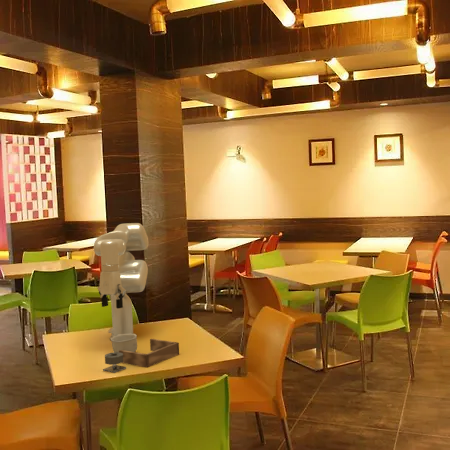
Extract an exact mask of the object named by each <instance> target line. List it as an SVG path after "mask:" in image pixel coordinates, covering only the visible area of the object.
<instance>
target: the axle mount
mask: <svg viewBox="0 0 450 450" xmlns="http://www.w3.org/2000/svg"><path fill="white" fill-rule="evenodd" d="M126 369H127V366H123V365H119V364H113V365H109V366H108V367H105V368H102V370H103V372H109V373H112V374H115V373H117V372H118V373H119V372H121V371H123V370H126Z"/></svg>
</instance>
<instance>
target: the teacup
mask: <svg viewBox="0 0 450 450" xmlns="http://www.w3.org/2000/svg"><path fill="white" fill-rule="evenodd" d="M135 334H136V333H134V334H122V335H121V334H118V335H117V336H115V337H113V338H112V339H111V340H110V341H111V346H112V351H113V352H112V353H114V352H119V350H125V351H131V352H137V349H138V339H137V336H136V335H137V334H136V335H135Z"/></svg>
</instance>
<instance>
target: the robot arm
mask: <svg viewBox="0 0 450 450" xmlns="http://www.w3.org/2000/svg"><path fill="white" fill-rule="evenodd" d="M149 245H150V244H149V236H148V234H147V231H146V229H145V227H144V226H143V224H141V223H139V222H131V223H130V222H129V223H120V224H118V225H117V226H116V227H115V228H114V230H113V231H110V232H108V233H103V234H102V235H100V236H98V237H97V238H96V239H95V241H94V243H93V252H94V254H95V256H98V257H100V262H101V263H100V266H101V271H100V273H99V275H100V276H99V286H97V291H98V294H99V296H100V297H99V298H100V299H101V300H100V301H101V307H103V308H104V307H108V306H109V297H108V296H110V300H111V301H110V304H111V319H112V327H110V328H109V330H108V331H107V332H108V333H109V334H111V335H110V337H109V340H110V341H111V339H112V338H113V337H115V336H117V335H118V334H121V335H122V334H135V335H136V336H137V334H136V333H134V325H133V324H134V323H133V322H134V321H133V307H132V306H133V305H132V304H133V303H132V299H131V298H130V297H129V295H128V293H141V292H143V291H144V290H145V288H146V285H147V278H148V275H149V274H148V272H149V268H148V264H147V262H146V261H145V260H144V259H136V258H135V256H134V255H133V254H132V253H131V251H143V250H144V251H145V250H147V249H148V247H149Z"/></svg>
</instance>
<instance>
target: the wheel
mask: <svg viewBox="0 0 450 450" xmlns="http://www.w3.org/2000/svg"><path fill="white" fill-rule="evenodd" d="M122 362H123V353H119V352H108V353H106V354H104V364H105V365H109V366H112V365H113V364H117V365H119V364H123V363H122Z"/></svg>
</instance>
